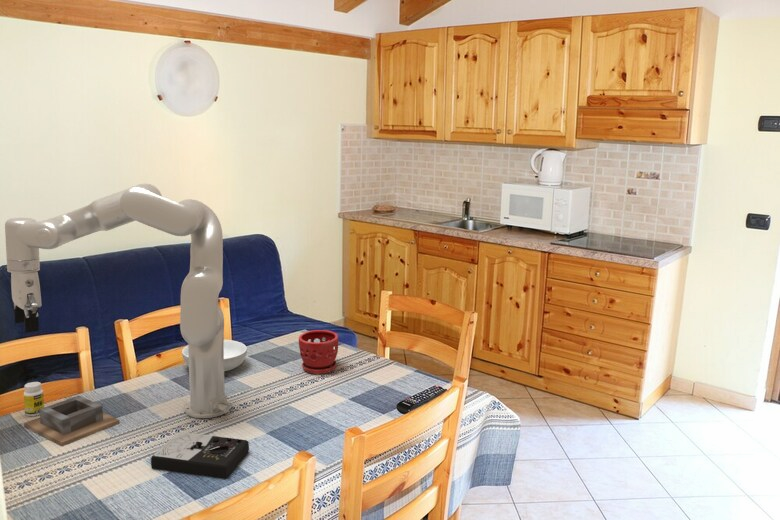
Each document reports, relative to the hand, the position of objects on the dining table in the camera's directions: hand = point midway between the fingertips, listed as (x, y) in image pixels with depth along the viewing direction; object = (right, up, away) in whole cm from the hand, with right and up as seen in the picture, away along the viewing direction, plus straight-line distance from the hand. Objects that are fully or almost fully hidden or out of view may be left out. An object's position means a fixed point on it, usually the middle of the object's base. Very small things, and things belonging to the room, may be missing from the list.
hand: (26, 326), depth 172 cm
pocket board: (+13, -26, -1) cm, 29 cm away
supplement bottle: (-1, -25, +5) cm, 25 cm away
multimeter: (+52, -31, -17) cm, 63 cm away
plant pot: (+74, -19, +43) cm, 88 cm away
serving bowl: (+40, -19, +42) cm, 60 cm away
